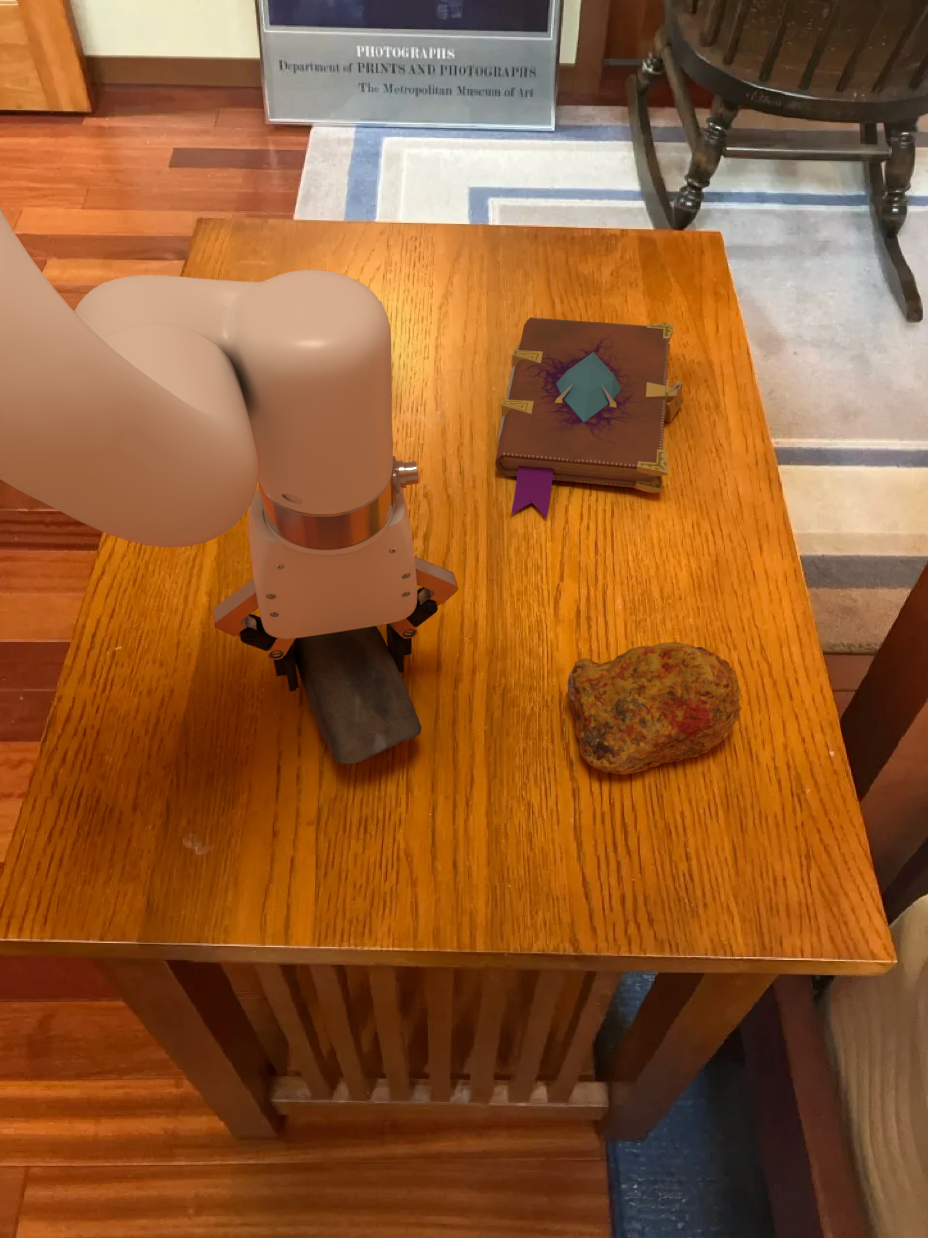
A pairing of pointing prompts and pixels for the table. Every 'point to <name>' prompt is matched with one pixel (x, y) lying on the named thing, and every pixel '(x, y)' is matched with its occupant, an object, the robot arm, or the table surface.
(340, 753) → the decorative stone
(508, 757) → the table surface
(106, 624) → the table surface
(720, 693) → the rock
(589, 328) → the book
